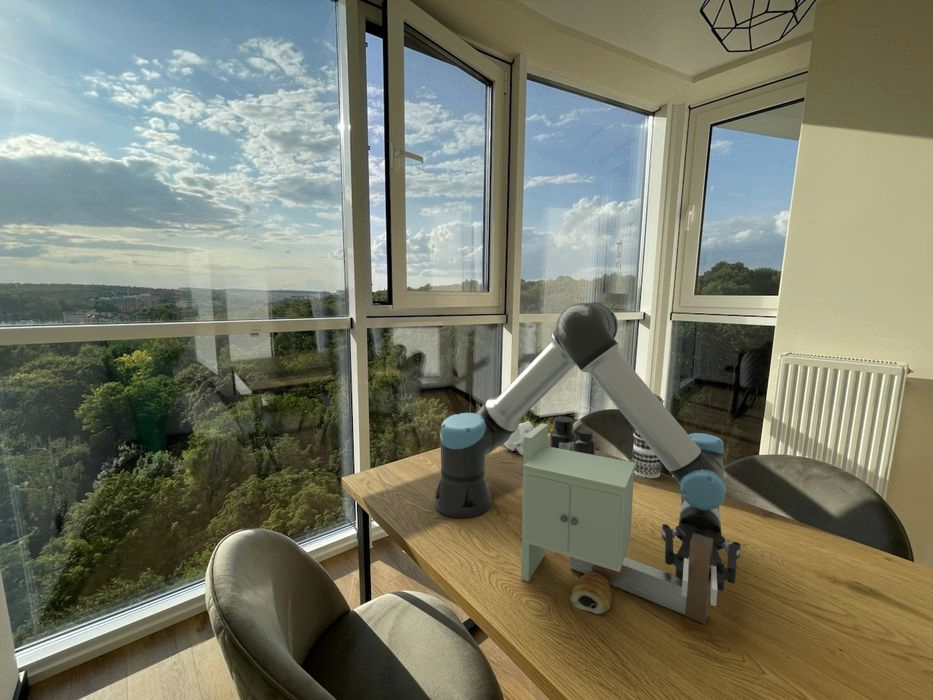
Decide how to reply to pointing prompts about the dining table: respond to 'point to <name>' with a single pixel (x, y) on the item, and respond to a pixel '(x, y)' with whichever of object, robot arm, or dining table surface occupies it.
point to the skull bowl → (519, 437)
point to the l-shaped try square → (664, 580)
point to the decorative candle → (645, 456)
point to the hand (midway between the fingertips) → (699, 592)
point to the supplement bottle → (584, 442)
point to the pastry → (592, 593)
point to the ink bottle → (563, 434)
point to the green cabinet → (574, 505)
